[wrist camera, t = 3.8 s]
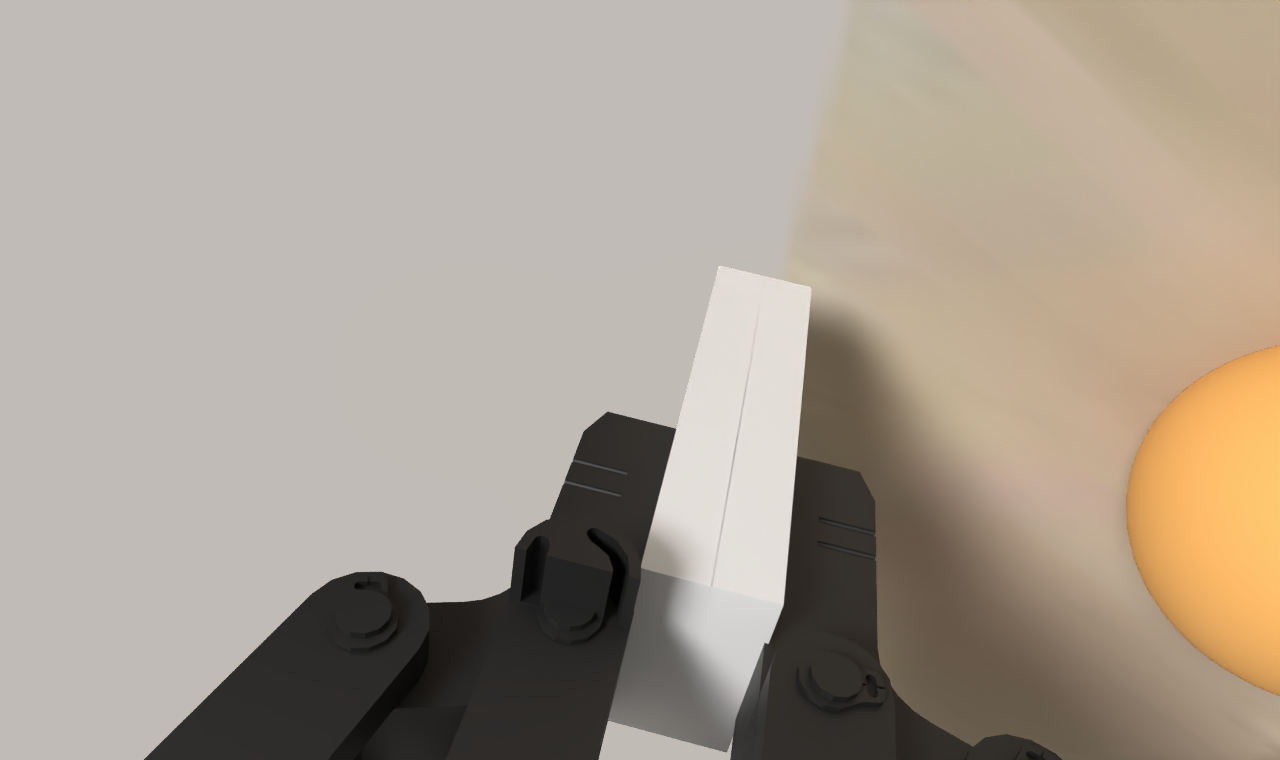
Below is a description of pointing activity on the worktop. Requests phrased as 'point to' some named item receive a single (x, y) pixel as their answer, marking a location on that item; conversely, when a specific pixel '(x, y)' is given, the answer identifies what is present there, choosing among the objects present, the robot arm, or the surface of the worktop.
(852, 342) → the worktop surface
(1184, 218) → the worktop surface
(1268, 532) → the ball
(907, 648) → the worktop surface
